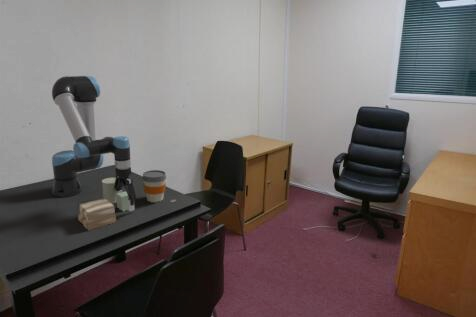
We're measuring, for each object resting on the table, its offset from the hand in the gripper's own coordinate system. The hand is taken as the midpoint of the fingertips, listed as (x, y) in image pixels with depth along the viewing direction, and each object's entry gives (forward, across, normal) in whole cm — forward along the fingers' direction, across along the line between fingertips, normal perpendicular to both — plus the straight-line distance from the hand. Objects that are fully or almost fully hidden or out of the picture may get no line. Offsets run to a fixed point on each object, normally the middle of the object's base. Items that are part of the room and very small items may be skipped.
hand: (125, 206), depth 180 cm
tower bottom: (+2, +5, -17) cm, 18 cm away
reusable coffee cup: (+1, -2, +18) cm, 18 cm away
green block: (+1, 0, 0) cm, 1 cm away
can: (+1, -15, -1) cm, 15 cm away
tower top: (-3, +5, -17) cm, 18 cm away
